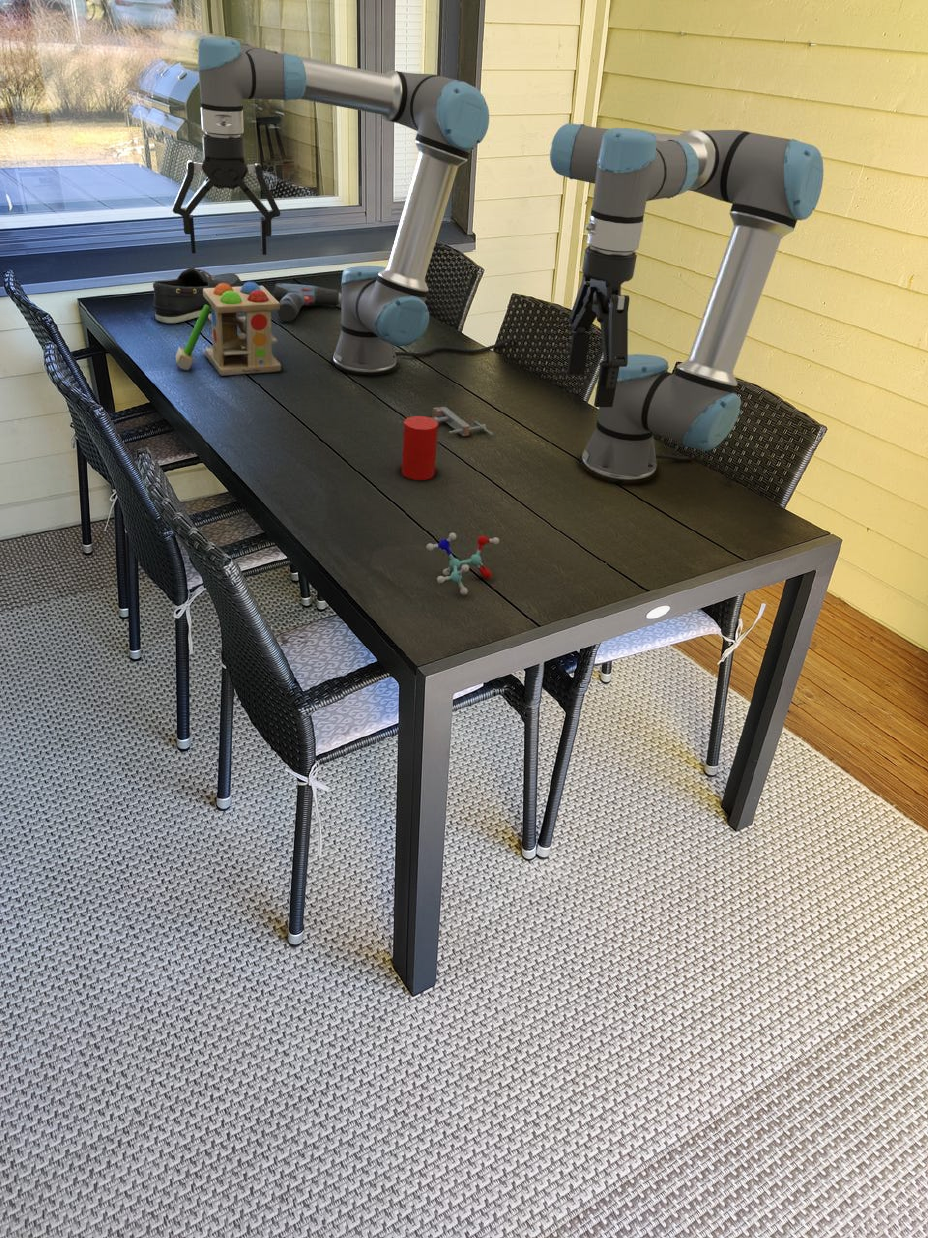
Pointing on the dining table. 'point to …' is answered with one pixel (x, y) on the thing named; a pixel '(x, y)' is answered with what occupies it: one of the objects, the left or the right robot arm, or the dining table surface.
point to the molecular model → (455, 563)
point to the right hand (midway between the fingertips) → (588, 389)
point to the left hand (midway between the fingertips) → (229, 252)
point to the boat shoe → (186, 294)
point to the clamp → (456, 422)
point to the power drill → (302, 298)
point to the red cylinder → (419, 447)
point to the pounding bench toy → (229, 347)
